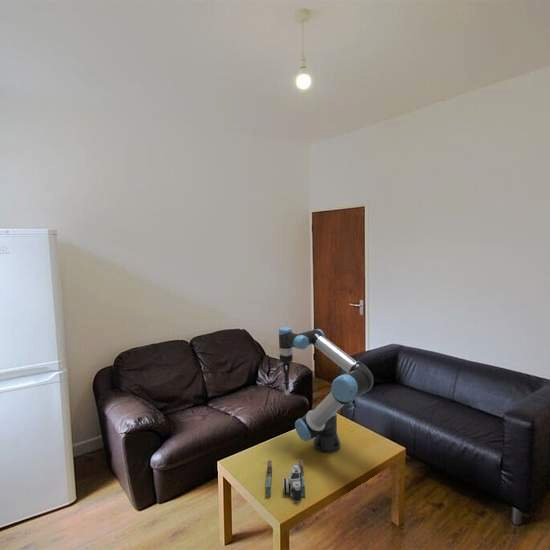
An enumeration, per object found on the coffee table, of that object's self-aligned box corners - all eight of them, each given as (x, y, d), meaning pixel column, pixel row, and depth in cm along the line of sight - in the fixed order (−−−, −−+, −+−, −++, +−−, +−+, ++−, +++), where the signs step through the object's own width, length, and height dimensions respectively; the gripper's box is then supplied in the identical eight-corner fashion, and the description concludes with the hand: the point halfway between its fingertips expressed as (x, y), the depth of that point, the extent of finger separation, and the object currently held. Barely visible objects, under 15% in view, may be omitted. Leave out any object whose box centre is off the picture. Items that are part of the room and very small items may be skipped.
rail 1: (271, 469, 188) (271, 459, 187) (270, 496, 168) (270, 486, 167) (268, 469, 188) (267, 459, 187) (266, 496, 168) (265, 486, 167)
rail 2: (302, 469, 187) (302, 459, 187) (305, 496, 167) (304, 485, 167) (298, 469, 187) (298, 459, 187) (300, 496, 167) (300, 485, 167)
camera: (283, 479, 180) (282, 460, 179) (300, 479, 180) (300, 460, 179) (283, 502, 164) (283, 482, 163) (302, 502, 164) (302, 481, 163)
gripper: (279, 347, 220) (280, 381, 223) (279, 361, 196) (280, 399, 198) (291, 347, 220) (292, 381, 222) (293, 361, 195) (294, 398, 198)
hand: (286, 389), depth 210 cm, fingers open, 13 cm apart
